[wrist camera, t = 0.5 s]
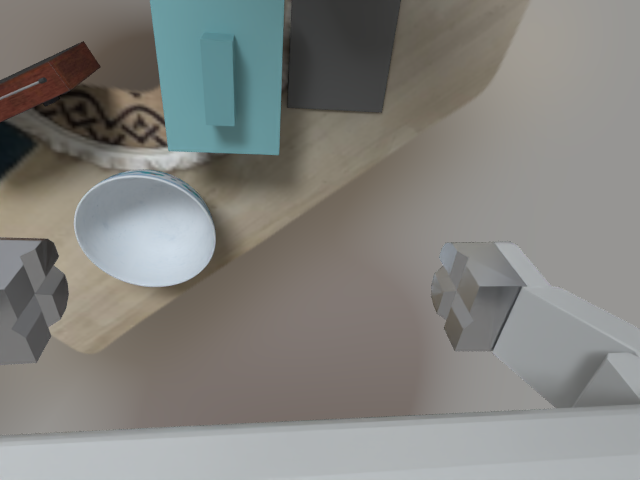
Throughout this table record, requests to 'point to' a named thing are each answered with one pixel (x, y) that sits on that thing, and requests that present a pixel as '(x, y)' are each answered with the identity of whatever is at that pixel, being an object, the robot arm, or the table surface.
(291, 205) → the table surface
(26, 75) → the radio
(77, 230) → the chinaware
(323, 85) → the mat
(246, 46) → the lid
